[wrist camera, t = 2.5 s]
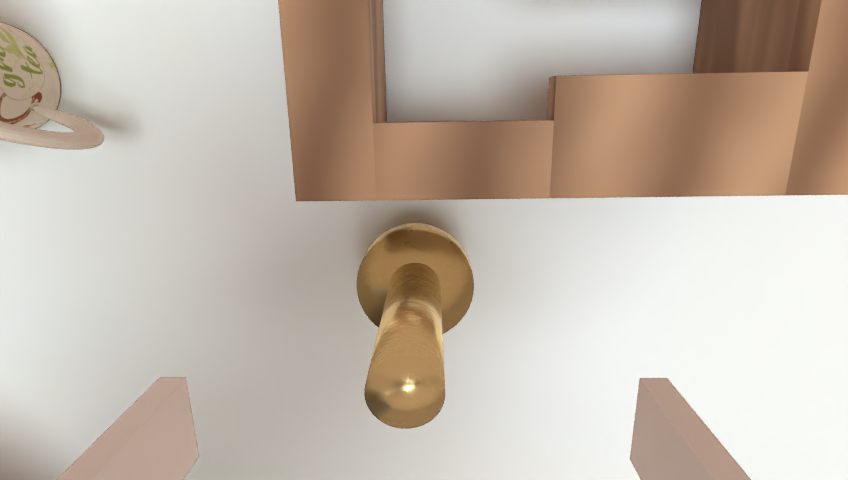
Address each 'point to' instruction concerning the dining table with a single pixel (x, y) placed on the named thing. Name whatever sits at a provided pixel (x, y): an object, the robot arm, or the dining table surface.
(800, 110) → the keyhole shelf
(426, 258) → the pin
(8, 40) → the mug
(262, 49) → the dining table surface
